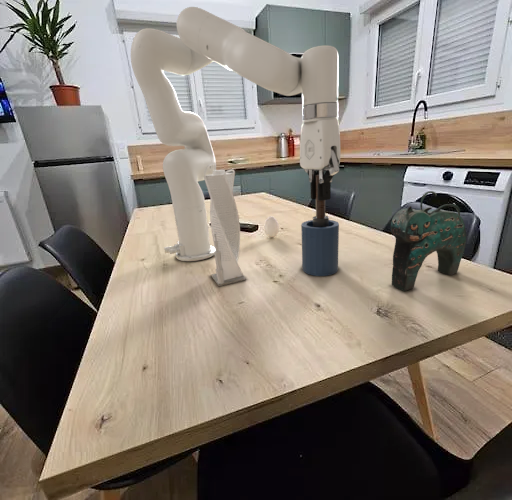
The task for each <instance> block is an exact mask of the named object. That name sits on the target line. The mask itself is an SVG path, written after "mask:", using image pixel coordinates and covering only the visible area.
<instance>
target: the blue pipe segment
mask: <svg viewBox="0 0 512 500" xmlns="http://www.w3.org/2000/svg"><path fill="white" fill-rule="evenodd" d="M300 226H301V260H302V261H301V267H302V272H303V273H305V274H307V275H310V276H316V277H327V276H331V275H334V274H336V273H337V272H338V271H339V237H340V222H338V221H336V220H333V219H329V227H313V219H310V220H306V221H304V222H302V223H301V225H300Z"/></svg>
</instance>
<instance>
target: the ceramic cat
mask: <svg viewBox="0 0 512 500" xmlns="http://www.w3.org/2000/svg"><path fill="white" fill-rule="evenodd" d="M428 194H432V196H433V197H434V198H436V197H437V192H436V191H433V190H429V191H426V192H424V193H423V194H422V195H421V198H420V203H419V208H420V209H414V208H412V205H409V207H408V208H406V207H405V208H401V209H399V210H398V211H396V212H395V213H394V215H393V217H392V219H391V222H390V232H391V234H392V236H393V237H394V238H395V243H394V249H393V254H392V269H391V286H393V287H394V288H396V289H398V290H400V291H403V292H407V291H410V290H413V289H414V287H415V285H416V282H417V277H418V274H419V272H420V269H421V268H422V265H423V264H424V261H425V260H426V258H427V257H428V256H429V255H431V254H433V253H435V252H436V254H437V271H438V273H441V274H444V275H449V276H452V275H455V274H457V273H458V271H459V268H460V264H461V261H462V258H463V255H464V252H465V250H466V244H467V230H466V224H465V221H464V219H463V218H462V216H461V209H460V207H459V206H458V205H457V204H452V203H447V204H442V205H440V206H439V207H437V208H435V209H433V206H431V207H430V206H429V207H425V208H423V201H424V199H425V197H426V196H427V195H428ZM445 207H452V208H455V210H456V212H454V211H451V210H443V208H445Z"/></svg>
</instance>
